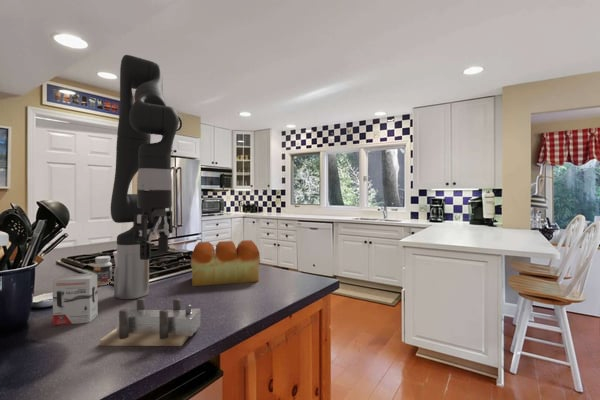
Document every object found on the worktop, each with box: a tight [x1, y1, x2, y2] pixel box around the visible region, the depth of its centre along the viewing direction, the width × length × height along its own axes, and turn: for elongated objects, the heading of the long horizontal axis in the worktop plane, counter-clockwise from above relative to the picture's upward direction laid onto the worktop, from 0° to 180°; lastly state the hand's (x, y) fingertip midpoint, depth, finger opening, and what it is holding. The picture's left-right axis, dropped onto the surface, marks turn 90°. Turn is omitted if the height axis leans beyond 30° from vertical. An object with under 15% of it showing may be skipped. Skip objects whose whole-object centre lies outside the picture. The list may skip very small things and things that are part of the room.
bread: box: [190, 239, 261, 287], centre depth 118 cm, size 25×12×15 cm, turn 105°
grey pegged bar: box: [116, 303, 201, 337], centre depth 71 cm, size 18×6×6 cm, turn 90°
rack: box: [99, 297, 190, 347], centre depth 71 cm, size 18×10×7 cm, turn 90°
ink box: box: [51, 272, 99, 326], centre depth 79 cm, size 8×5×12 cm, turn 103°
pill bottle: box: [93, 255, 113, 287], centre depth 111 cm, size 6×6×10 cm
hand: (154, 255), depth 73 cm, fingers open, 8 cm apart
